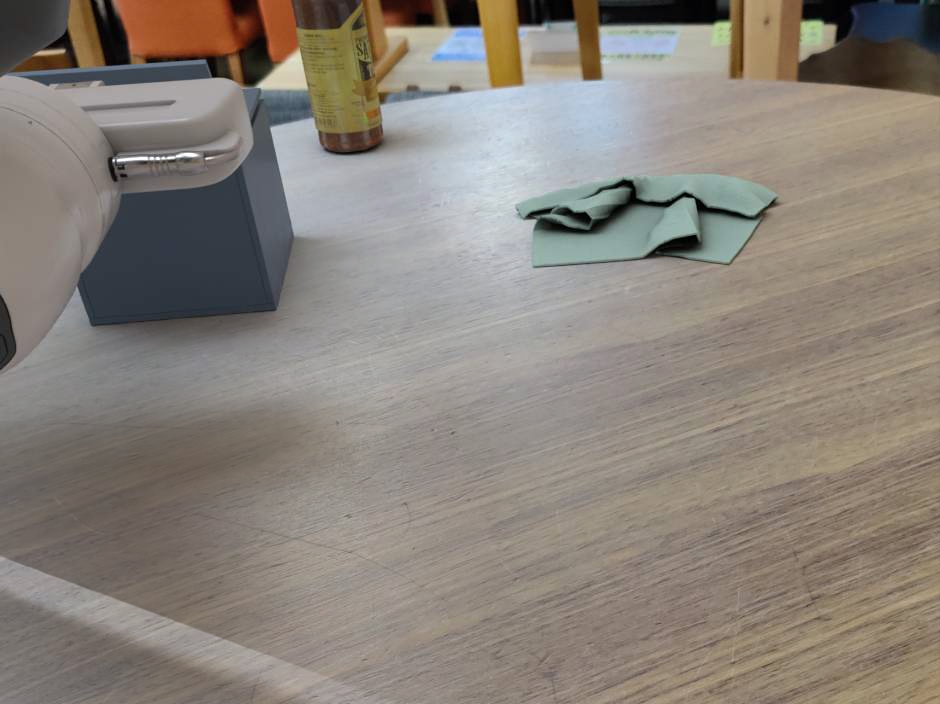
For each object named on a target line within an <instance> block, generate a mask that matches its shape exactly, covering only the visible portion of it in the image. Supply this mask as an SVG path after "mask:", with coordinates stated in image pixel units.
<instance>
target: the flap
mask: <svg viewBox="0 0 940 704" xmlns="http://www.w3.org/2000/svg"><path fill="white" fill-rule="evenodd" d="M5 75H7V76H16V77H21V78H26V79H29V80H33V81H36V82H39V83H41V84H44V85H46V86H49V85H50V84H61V83H77V82H88V81H103V82H104V84H105V86H112V85H126V84H140V83H154V82H168V81H182V80H196V79H209V78H213V76H212V73H211V70H210V67H209V64H208V62H207V59H193V60H179V61H165V62H148V63H134V64H133V63H132V64H121V65H120V64H119V65H105V66H91V67H90V66H89V67H88V66H87V67H75V68H62V69H61V68H60V69H46V70H45V69H44V70H31V71H16V72H8V73H7V74H5Z"/></svg>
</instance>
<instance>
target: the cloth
mask: <svg viewBox="0 0 940 704" xmlns="http://www.w3.org/2000/svg"><path fill="white" fill-rule="evenodd" d="M779 197H780V195H778V194H777V193H776V192H775V191H773V190H771V189H769V188H767V187H766V186H763V185H762V184H760V183H757V182H752V181H750V180H747V179H743V178H740V177H738V176H729V175H728V176H727V175H724V174H716V173H689V174H688V173H687V174H684V173H675V174H672V175H671V174H670V175H655V176H654V175H650V174H638V175H633V176H632V175H623V176H618V177H612V178H608V179H606V180H603V181H598V182H590V183H585V184H581V185H578V186H575V187H572V188H562V189H561V188H560V189H556V190H553V191H550V192H547V193H545V194H543V195H540V196H536V197H535V196H534V197H532V198H529V199H526V200H523V201H521V202H518V203H515V204H514V206H515V211H517V212H518V213H519V214H520V216H521V218H522V219H526V217H531V218H533V219H536V221H535V222H534V224H533V229H532V247H531V248H532V251H531V253H532V254H531V255H532V256H531V257H532V268H537V267H538V268H539V267H551V266H552V267H554V266H565V265H566V266H567V265H577V264H578V265H580V264H581V265H582V264H592V263H605V262H607V263H608V262H618V261H629V260H639V259H644V258H645V257H646V256H648V255H649V254H650V253H651V252H653V251H654V250H656V251H655V253H654V254H656V255H661V256H672V257H680V258H684V259H687V260H688V259H689V260H693V261H701V262H708V263H715V264H721V265H730V264H731V262H732V261H733V260H734V259H735V258H736V256H737V255H738V253H739V252H740V251H741V250H742V249H743V247H744V246H745V244H746V243H747V242H748V240H749V239H750V238H751V237H752V235H753V233H754V232H755V230H756V228H757V227H758V225H759V224H760V222H761V221H762V219H763V215H762V213H761V211H763V210H764V209H765V208H766V207H769V205H770V204H772V203H771V202H773V203H775V201H776V202H777V200H778V199H779Z"/></svg>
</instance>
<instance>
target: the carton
mask: <svg viewBox="0 0 940 704" xmlns="http://www.w3.org/2000/svg"><path fill="white" fill-rule="evenodd" d="M242 91H243V94H244V97H245V101H246V105H247V108H248V112H249V117H250V122H251V127H252V132H253V146H252V149H251V150H250V152H249V154H248V155H247V157H246V158H245V159H244V161H243V162H242V163H241V164H240V166H239V167H238V168H237V169H236V170H235V171H234V172H233V173H232V174H231V175H230V176H228V177H227V178H226V179H224V180H222V181H220V182H217V183H215V184H211V185H208V186H203V187H197V188H189V189H177V190H164V191H151V192H139V193H126V194H121V200H120V205H119V209H118V212H117V215H116V217H115V220H114V221H113V223H112V225H111V227H110V228H109V230H108V232H107V234H106V236H105V238H104V240H103V241H102V243H101V245H100V247H99V249H98V250H97V252H96V254H95V255H94V257H93V259H92V261H91V262H90V264H89V265H88V266H87V267H86V269H85V270H84V271H83V272H82V273H81V274H80V278H79V281H78V284H77V287H76V288H77V290H78V293H79V296H80V298H81V302H82V305H83V307H84V311H85V312H86V316H87V318H88V322H89V324H90V326H100V325H111V324H123V323H124V324H125V323H135V322H146V321H159V320H161V321H162V320H173V319H185V318H195V317H208V316H218V315H219V316H220V315H221V316H222V315H231V314H232V315H233V314H244V313H254V311H256V312H268V311H276V310H277V309H278V305H279V300H280V296H281V291H282V287H283V284H284V280H285V275H286V270H287V266H288V262H289V258H290V254H291V250H292V245H293V241H294V237H295V233H294V230H293V224H292V220H291V216H290V215H291V214H290V211H289V206H288V202H287V197H286V193H285V188H284V183H283V179H282V174H281V170H280V165H279V160H278V157H277V152H276V147H275V143H274V139H273V134H272V130H271V125H270V121H269V117H268V111H267V107H266V102H265V99H264V98H261V96H262V93H263V92H262V88H261V87H250V88H249V87H248V88H242Z"/></svg>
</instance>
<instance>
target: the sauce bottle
mask: <svg viewBox="0 0 940 704" xmlns="http://www.w3.org/2000/svg"><path fill="white" fill-rule="evenodd" d="M290 5H291V7H292V10H293V16H294V21H295V33H296V37H297V43H298V48H299V53H300V56H301V62H302V67H303V73H304V76H305V82H306V88H307V90H308V91H307V92H308V97H309V100H310V101H309V102H310V107H311V111H312V116H313V121H314V126H315V129H316V130H317V133H318V141H319V144H320V145H321V147H322V148H324V149H325V150H327V151H330V152H336V153H350V152H358V151H365V150H368V149H369V148H373V147H376V146H377V145H379V144H381V142H382V141H383V139H384V128H383V116H382V108H381V103H380V95H379V90H378V85H377V84H378V83H377V79H376V73H375V65H374V60H373V54H372V49H371V42H370V37H369V32H368V27H367V20H366V13H365V9H364V8H365V7H364V2H363V0H290Z"/></svg>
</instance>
